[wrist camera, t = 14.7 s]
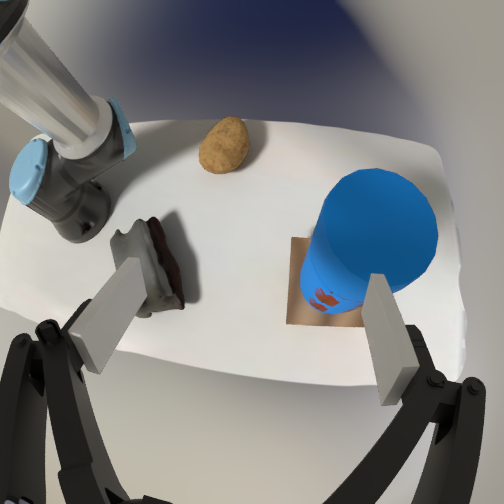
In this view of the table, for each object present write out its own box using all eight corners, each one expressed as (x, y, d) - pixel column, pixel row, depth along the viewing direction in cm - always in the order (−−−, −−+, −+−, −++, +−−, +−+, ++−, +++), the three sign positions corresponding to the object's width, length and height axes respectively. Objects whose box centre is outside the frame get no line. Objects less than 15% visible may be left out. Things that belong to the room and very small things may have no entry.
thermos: (373, 301, 45) (457, 263, 21) (312, 325, 45) (351, 310, 21) (349, 240, 48) (404, 155, 24) (289, 260, 48) (301, 183, 24)
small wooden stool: (284, 325, 52) (286, 323, 46) (289, 249, 56) (291, 237, 49) (361, 328, 51) (373, 326, 44) (362, 254, 55) (373, 242, 48)
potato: (259, 136, 64) (257, 113, 56) (238, 189, 60) (233, 168, 53) (219, 128, 65) (212, 105, 58) (195, 178, 62) (185, 158, 54)
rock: (198, 306, 54) (185, 300, 47) (146, 329, 54) (127, 326, 46) (165, 223, 60) (151, 206, 52) (119, 246, 59) (100, 234, 52)
